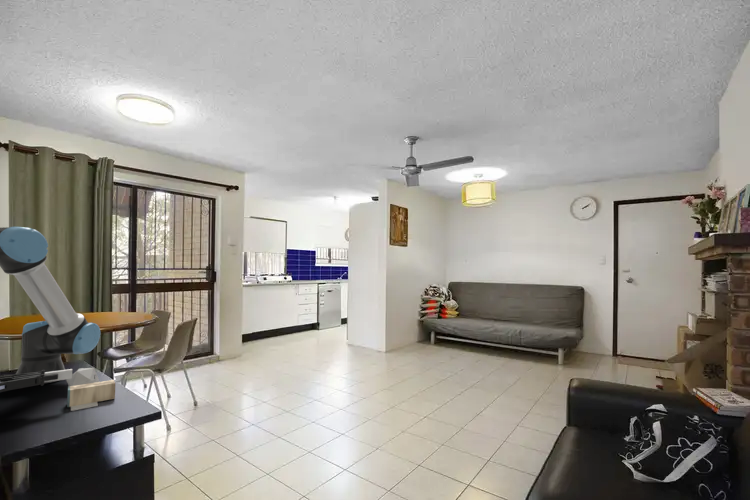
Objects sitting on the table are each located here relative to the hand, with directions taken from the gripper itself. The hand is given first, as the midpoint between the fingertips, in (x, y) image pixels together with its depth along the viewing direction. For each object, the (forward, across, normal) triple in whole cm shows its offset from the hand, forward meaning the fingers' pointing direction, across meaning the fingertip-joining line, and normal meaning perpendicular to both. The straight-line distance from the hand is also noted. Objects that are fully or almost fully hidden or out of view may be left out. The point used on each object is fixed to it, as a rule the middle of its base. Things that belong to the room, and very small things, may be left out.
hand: (72, 373), depth 117 cm
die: (+3, -16, -10) cm, 20 cm away
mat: (+3, 0, -10) cm, 10 cm away
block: (-1, 0, -7) cm, 7 cm away
